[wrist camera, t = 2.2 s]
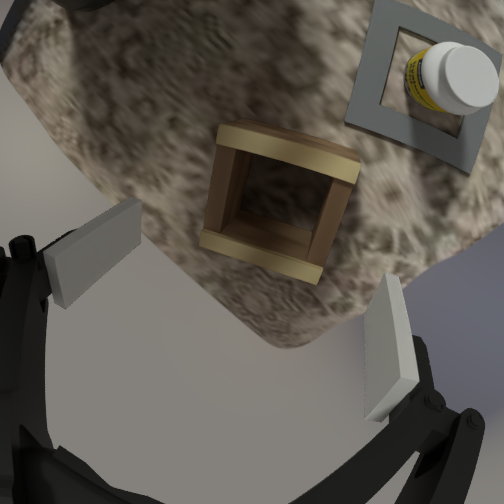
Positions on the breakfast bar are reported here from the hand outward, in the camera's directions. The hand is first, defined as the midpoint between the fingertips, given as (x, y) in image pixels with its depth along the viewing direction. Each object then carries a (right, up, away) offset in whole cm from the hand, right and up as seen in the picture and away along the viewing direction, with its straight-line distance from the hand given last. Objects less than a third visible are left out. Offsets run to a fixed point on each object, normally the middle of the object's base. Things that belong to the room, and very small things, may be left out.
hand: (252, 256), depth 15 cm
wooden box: (+3, +6, +13) cm, 15 cm away
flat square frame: (+15, +15, +5) cm, 22 cm away
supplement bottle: (+16, +15, +5) cm, 22 cm away
